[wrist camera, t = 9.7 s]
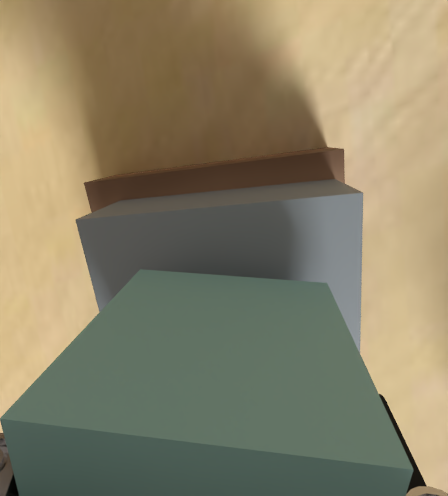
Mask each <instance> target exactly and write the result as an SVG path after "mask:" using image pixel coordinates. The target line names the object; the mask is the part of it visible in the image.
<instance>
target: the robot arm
mask: <svg viewBox="0 0 448 496" xmlns="http://www.w3.org/2000/svg"><path fill="white" fill-rule="evenodd" d="M379 396H380V398H381V400H382V403H383V405H384V407H385V409H386V411H387V413H388V416H389V418H390V420H391V422H392V424H393V426H394V429H395V431H396V433H397V435H398V437H399V439H400V442H401V444H402V446H403V448H404V450H405V452H406V454H407V457H408V459H409V461H410V463H411V465H412V467H413V473H412V476H411V480H410V483H409V486H408V490H407V493H406V496H448V493H446V492H444V491H442V490H439V489H436V488H433V487H427V486H426V484H425V482H424V480H423V477H422V475H421V473H420V471H419V469H418V467H417V465H416V463H415V461H414V459H413V457H412V454H411V452H410V450H409V448H408V446H407V444H406V442H405V440H404V438H403V436H402V434H401V431H400V429H399V427H398V425H397V423H396V421H395V419H394V417H393V415H392V413H391V411H390V408H389V406H388V404H387V402H386V400H385V399H384V397H383V396H382V395H381V394H379ZM0 496H19V493H18V489H17V485H16V481H15V477H14V473H13V469H12V465H11V461H10V457H9V453H8V449H7V445H6V441H5V437H4V433H0Z"/></svg>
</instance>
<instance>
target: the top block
mask: <svg viewBox="0 0 448 496" xmlns="http://www.w3.org/2000/svg"><path fill="white" fill-rule="evenodd" d="M362 220H363V192H361V191H359V190H356V189H354V188H352V187H350V186H348V185H346V184H344V183H342V182H340V181H338V180H336V179H329V180H319V181H309V182H299V183H289V184H279V185H269V186H259V187H249V188H240V189H230V190H220V191H210V192H200V193H190V194H180V195H170V196H160V197H150V198H140V199H130V200H120V201H118V202H116V203H113V204H111V205H109V206H106V207H104V208H102V209H99V210H97V211H95V212H92V213H90V214H88V215H85V216H83V217H81V218H78V219H76V223H77V227H78V231H79V235H80V239H81V243H82V246H83V250H84V254H85V258H86V262H87V266H88V269H89V273H90V277H91V281H92V285H93V289H94V292H95V296H96V300H97V304H98V308H99V312H101V311H102V309H103V308H104V307H105V306H106V305H107V304H108V303H109V302H110V301H111V300H112V299H113V298H114V297H115V296H116V295H117V293H118V292H119V291H120V290H121V289H122V288H123V287H124V286H125V285H126V284H127V283H128V282H129V281H130V280H131V279H132V278H133V276H134V275H135V274H136V273H137V272H138V271H139V270H140V269H143V270H157V271H171V272H184V273H198V274H212V275H226V276H239V277H253V278H267V279H280V280H294V281H308V282H321V283H327V284H328V286H329V288H330V290H331V292H332V294H333V297H334V299H335V301H336V303H337V305H338V307H339V310H340V312H341V314H342V316H343V318H344V320H345V323H346V325H347V327H348V329H349V331H350V333H351V336H352V338H353V340H354V342H355V344H356V346H357V349H358V351H359V353H360V324H361V272H362Z"/></svg>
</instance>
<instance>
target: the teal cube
mask: <svg viewBox="0 0 448 496" xmlns="http://www.w3.org/2000/svg"><path fill="white" fill-rule="evenodd" d="M0 421H1V425H2V429H3V433H4V437H5V441H6V445H7V449H8V453H9V457H10V461H11V465H12V469H13V473H14V477H15V481H16V485H17V489H18V493H19V496H406V493H407V490H408V486H409V483H410V480H411V476H412V473H413V467H412V465H411V463H410V461H409V459H408V457H407V454H406V452H405V450H404V448H403V446H402V444H401V442H400V439H399V437H398V435H397V433H396V431H395V429H394V426H393V424H392V422H391V420H390V418H389V416H388V413H387V411H386V409H385V407H384V405H383V403H382V400H381V398H380V396H379V394H378V392H377V390H376V387H375V385H374V383H373V381H372V379H371V377H370V374H369V372H368V370H367V368H366V366H365V364H364V362H363V359H362V357H361V355H360V353H359V351H358V349H357V346H356V344H355V342H354V340H353V338H352V336H351V333H350V331H349V329H348V327H347V325H346V323H345V320H344V318H343V316H342V314H341V312H340V310H339V307H338V305H337V303H336V301H335V299H334V297H333V294H332V292H331V290H330V288H329V286H328V284H327V283H321V282H308V281H294V280H280V279H267V278H253V277H239V276H226V275H212V274H198V273H184V272H171V271H157V270H143V269H140V270H139V271H138V272H137V273H136V274H135V275H134V276H133V278H132V279H131V280H130V281H129V282H128V283H127V284H126V285H125V286H124V287H123V288H122V289H121V290H120V291H119V292H118V293H117V295H116V296H115V297H114V298H113V299H112V300H111V301H110V302H109V303H108V304H107V305H106V306H105V307H104V308H103V309H102V311H101V312H100V313H99V314H98V315H97V316H96V317H95V318H94V319H93V320H92V321H91V322H90V323H89V324H88V325H87V326H86V328H85V329H84V330H83V331H82V332H81V333H80V334H79V335H78V336H77V337H76V338H75V339H74V340H73V341H72V342H71V344H70V345H69V346H68V347H67V348H66V349H65V350H64V351H63V352H62V353H61V354H60V355H59V356H58V357H57V358H56V360H55V361H54V362H53V363H52V364H51V365H50V366H49V367H48V368H47V369H46V370H45V371H44V372H43V373H42V374H41V375H40V377H39V378H38V379H37V380H36V381H35V382H34V383H33V384H32V385H31V386H30V387H29V388H28V389H27V390H26V391H25V393H24V394H23V395H22V396H21V397H20V398H19V399H18V400H17V401H16V402H15V403H14V404H13V405H12V406H11V407H10V408H9V410H8V411H7V412H6V413H5V414H4V415H3V416H2V417H1V418H0Z"/></svg>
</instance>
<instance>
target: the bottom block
mask: <svg viewBox="0 0 448 496" xmlns="http://www.w3.org/2000/svg"><path fill="white" fill-rule="evenodd" d="M329 179H336V180H338V181H340V182H342V183H344V184H345V180H344V149H338V148H328V147H327V148H320V149H312V150H304V151H297V152H289V153H281V154H274V155H266V156H259V157H251V158H243V159H236V160H228V161H221V162H213V163H205V164H198V165H190V166H183V167H175V168H167V169H160V170H152V171H144V172H137V173H129V174H122V175H114V176H110V177H106V178H102V179H98V180H94V181H89V182H85V183H84V185H85V189H86V192H87V196H88V200H89V204H90V208H91V212H95V211H97V210H99V209H102V208H104V207H106V206H109V205H111V204H113V203H116V202H118V201H120V200H130V199H140V198H150V197H160V196H170V195H180V194H190V193H200V192H210V191H220V190H230V189H240V188H249V187H259V186H269V185H279V184H289V183H299V182H309V181H319V180H329Z"/></svg>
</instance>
